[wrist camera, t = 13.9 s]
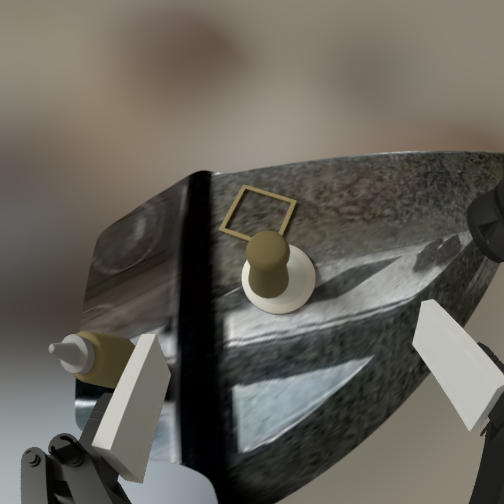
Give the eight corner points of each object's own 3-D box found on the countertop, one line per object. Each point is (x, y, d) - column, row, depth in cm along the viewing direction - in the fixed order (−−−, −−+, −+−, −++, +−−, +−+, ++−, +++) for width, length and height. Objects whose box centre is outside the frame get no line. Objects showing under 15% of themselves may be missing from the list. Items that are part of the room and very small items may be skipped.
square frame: (296, 202, 49) (296, 200, 48) (275, 251, 45) (275, 250, 44) (243, 186, 51) (243, 184, 50) (219, 231, 47) (218, 230, 47)
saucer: (323, 259, 44) (325, 256, 43) (300, 325, 40) (300, 323, 39) (259, 236, 46) (258, 233, 45) (230, 298, 42) (229, 296, 41)
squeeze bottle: (159, 356, 39) (92, 339, 23) (136, 398, 36) (61, 403, 20) (121, 329, 41) (48, 298, 25) (99, 369, 38) (21, 355, 22)
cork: (240, 273, 43) (231, 239, 33) (274, 252, 44) (274, 214, 34) (262, 306, 40) (260, 281, 30) (297, 284, 41) (305, 252, 31)
